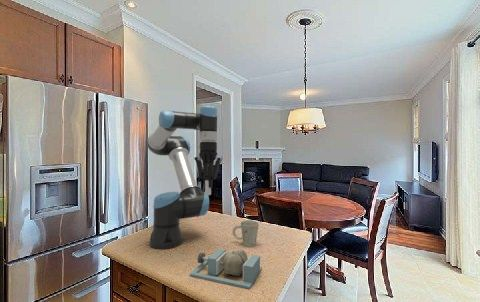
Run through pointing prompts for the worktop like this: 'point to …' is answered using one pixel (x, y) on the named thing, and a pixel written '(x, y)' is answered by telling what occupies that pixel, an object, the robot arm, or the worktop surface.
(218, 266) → the jaw
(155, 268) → the worktop surface
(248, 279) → the vise
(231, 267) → the garlic bulb
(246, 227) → the mug
